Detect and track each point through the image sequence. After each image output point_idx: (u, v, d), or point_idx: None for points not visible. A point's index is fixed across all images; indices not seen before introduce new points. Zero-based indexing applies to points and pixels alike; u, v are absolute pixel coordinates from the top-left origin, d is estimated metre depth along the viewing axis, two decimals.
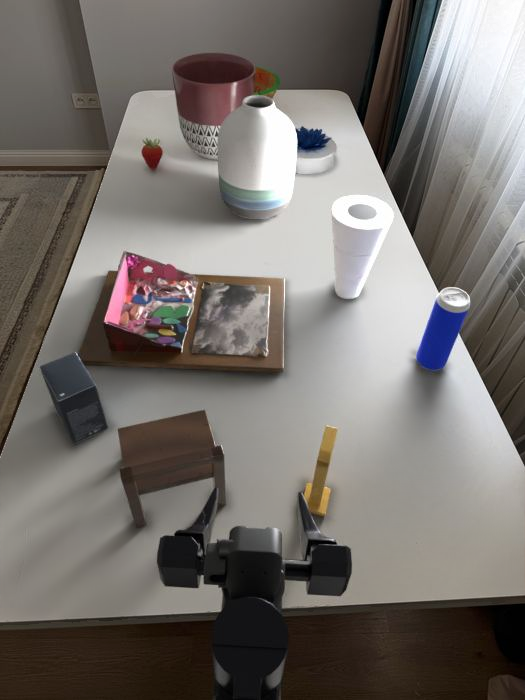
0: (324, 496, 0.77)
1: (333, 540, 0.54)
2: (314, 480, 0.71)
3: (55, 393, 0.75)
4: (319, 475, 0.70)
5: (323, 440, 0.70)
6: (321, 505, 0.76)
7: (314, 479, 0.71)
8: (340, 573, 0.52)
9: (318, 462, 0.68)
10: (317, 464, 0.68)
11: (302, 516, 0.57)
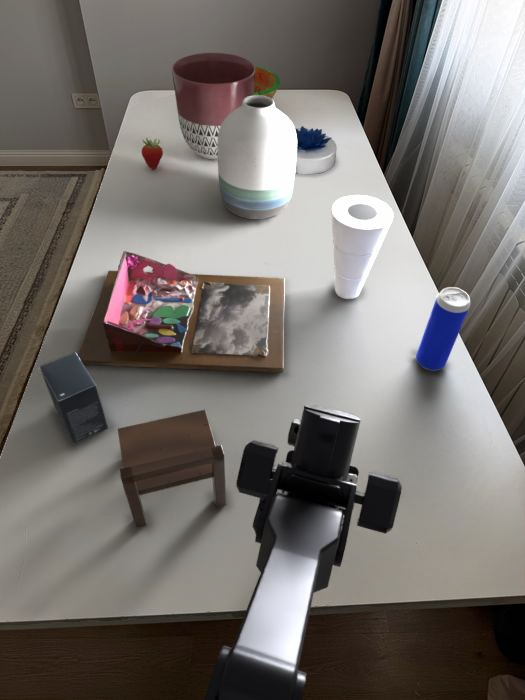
0: None
1: (356, 468, 0.65)
2: None
3: (55, 393, 0.75)
4: None
5: None
6: None
7: None
8: (392, 487, 0.62)
9: None
10: None
11: None
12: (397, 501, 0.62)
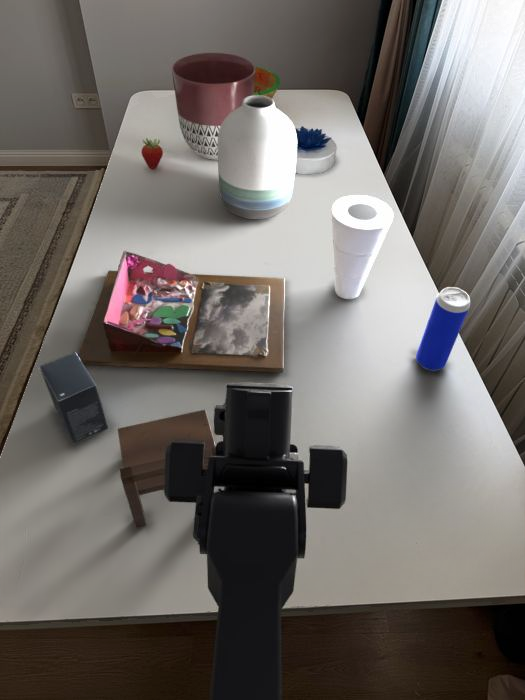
0: None
1: (294, 445, 0.59)
2: None
3: (55, 393, 0.75)
4: None
5: None
6: None
7: None
8: (337, 457, 0.56)
9: None
10: None
11: None
12: (345, 471, 0.56)
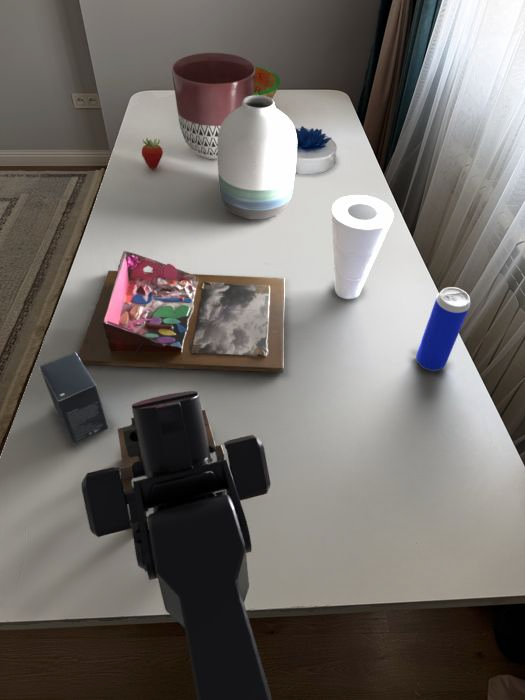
0: None
1: None
2: None
3: (55, 393, 0.75)
4: None
5: None
6: None
7: None
8: (253, 446, 0.57)
9: None
10: None
11: None
12: (264, 456, 0.58)
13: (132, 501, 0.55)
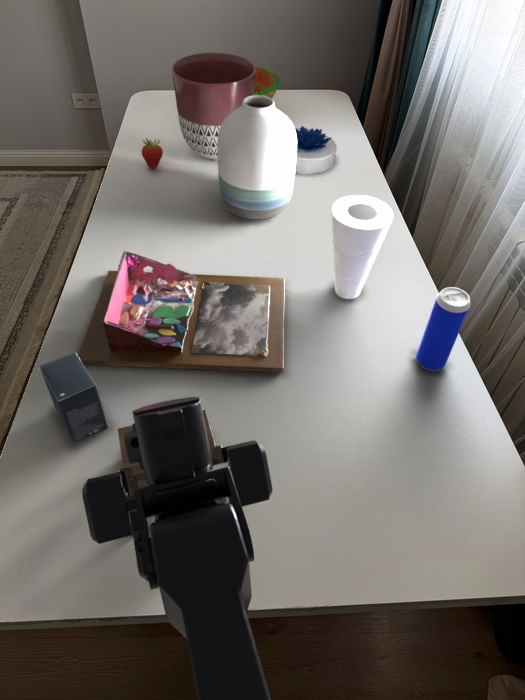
0: None
1: None
2: None
3: (55, 393, 0.75)
4: None
5: None
6: None
7: None
8: (255, 451, 0.57)
9: None
10: None
11: (216, 458, 0.62)
12: (266, 462, 0.57)
13: (133, 507, 0.55)
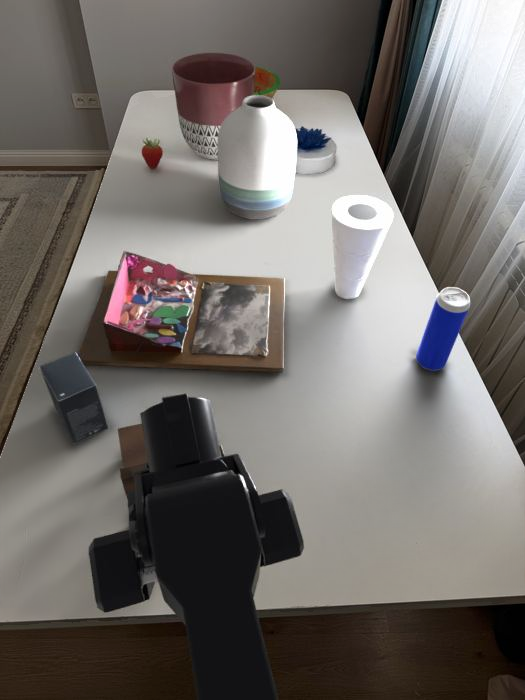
0: None
1: None
2: None
3: (55, 393, 0.75)
4: None
5: None
6: None
7: None
8: (278, 496, 0.51)
9: None
10: None
11: None
12: (292, 508, 0.51)
13: (144, 565, 0.48)
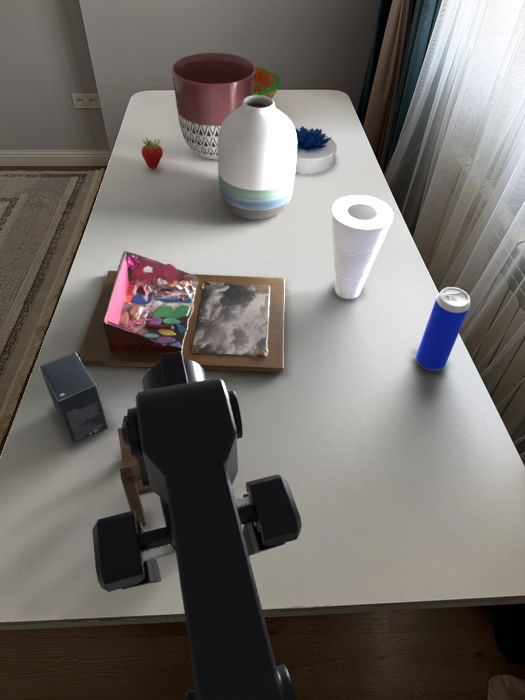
0: None
1: None
2: None
3: (55, 393, 0.75)
4: None
5: None
6: None
7: None
8: (274, 477, 0.54)
9: None
10: None
11: (244, 528, 0.57)
12: (288, 488, 0.53)
13: (145, 540, 0.49)
